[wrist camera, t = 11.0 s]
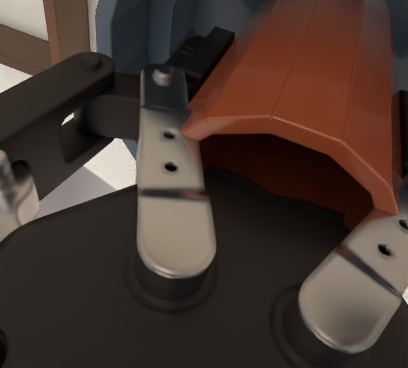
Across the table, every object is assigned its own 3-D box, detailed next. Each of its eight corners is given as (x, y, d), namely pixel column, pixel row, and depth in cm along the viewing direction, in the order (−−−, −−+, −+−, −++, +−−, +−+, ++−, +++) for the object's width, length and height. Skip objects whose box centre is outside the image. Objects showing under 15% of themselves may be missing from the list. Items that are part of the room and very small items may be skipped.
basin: (191, -249, 11) (80, -290, 7) (689, -124, 10) (903, -89, 6) (155, 118, 22) (101, 186, 18) (394, 208, 20) (395, 306, 16)
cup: (270, -50, 14) (154, 73, 7) (430, -1, 13) (475, 189, 6) (234, 85, 18) (139, 243, 11) (353, 127, 17) (330, 324, 10)
